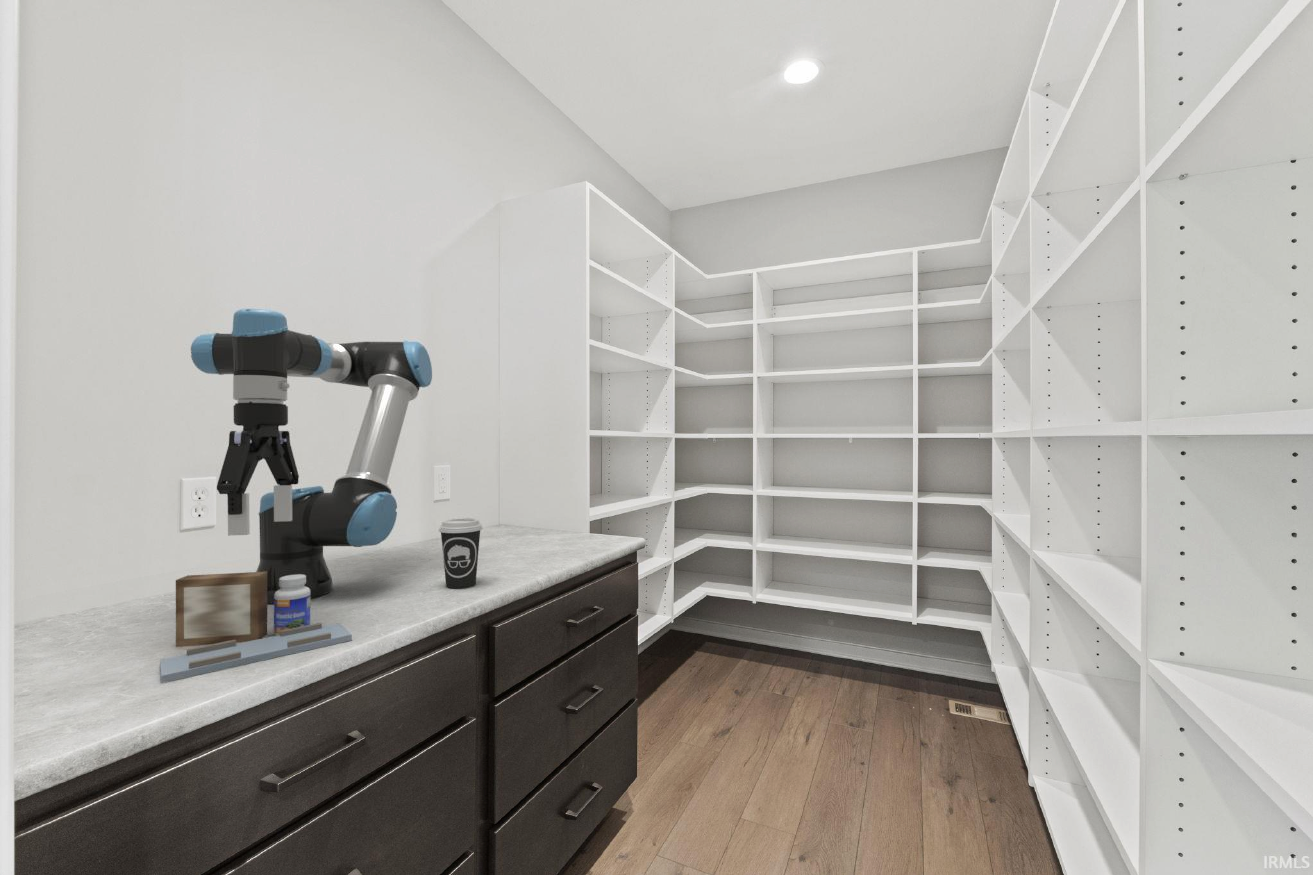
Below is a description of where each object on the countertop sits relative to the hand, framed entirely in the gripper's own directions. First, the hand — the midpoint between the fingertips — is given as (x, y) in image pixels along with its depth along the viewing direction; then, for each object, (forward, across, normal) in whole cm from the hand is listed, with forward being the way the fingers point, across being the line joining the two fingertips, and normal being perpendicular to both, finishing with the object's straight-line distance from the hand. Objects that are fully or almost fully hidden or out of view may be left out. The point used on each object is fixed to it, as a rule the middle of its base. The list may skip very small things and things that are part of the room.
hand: (262, 527), depth 95 cm
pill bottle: (+19, +3, -3) cm, 20 cm away
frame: (+19, 0, +6) cm, 20 cm away
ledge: (+19, -7, -3) cm, 20 cm away
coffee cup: (+20, +31, -26) cm, 45 cm away
